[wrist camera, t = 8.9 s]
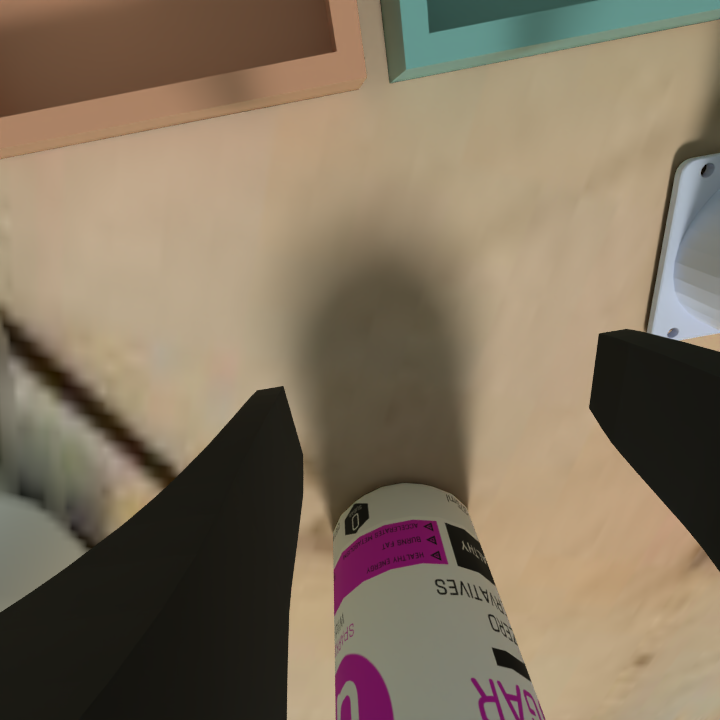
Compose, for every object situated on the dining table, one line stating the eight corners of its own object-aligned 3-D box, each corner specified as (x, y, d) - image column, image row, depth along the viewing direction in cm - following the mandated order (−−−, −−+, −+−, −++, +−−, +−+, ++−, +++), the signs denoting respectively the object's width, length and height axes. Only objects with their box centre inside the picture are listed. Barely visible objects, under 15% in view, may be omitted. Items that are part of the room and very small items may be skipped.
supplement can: (317, 559, 26) (306, 987, 13) (359, 461, 23) (403, 914, 10) (434, 577, 28) (530, 973, 15) (491, 489, 24) (683, 906, 11)
